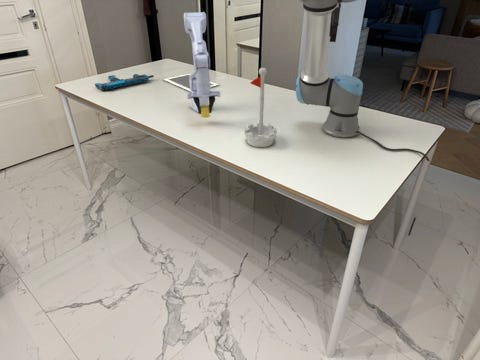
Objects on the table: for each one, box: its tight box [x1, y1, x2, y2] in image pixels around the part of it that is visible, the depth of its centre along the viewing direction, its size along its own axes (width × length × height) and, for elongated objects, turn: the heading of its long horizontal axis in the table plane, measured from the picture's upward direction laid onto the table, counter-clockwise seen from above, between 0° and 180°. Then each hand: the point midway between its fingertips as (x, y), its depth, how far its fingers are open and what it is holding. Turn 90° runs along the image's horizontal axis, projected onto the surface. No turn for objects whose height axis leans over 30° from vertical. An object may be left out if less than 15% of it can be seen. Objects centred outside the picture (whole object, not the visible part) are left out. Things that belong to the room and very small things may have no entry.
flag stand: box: [244, 67, 278, 148], centre depth 133 cm, size 13×13×30 cm
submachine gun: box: [94, 73, 155, 91], centre depth 208 cm, size 34×4×25 cm
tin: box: [199, 104, 211, 119], centre depth 154 cm, size 4×4×4 cm
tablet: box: [162, 73, 220, 93], centre depth 208 cm, size 32×20×1 cm, turn 41°
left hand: (204, 112), depth 154 cm, fingers closed on tin, 4 cm apart
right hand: (331, 39), depth 166 cm, fingers open, 13 cm apart
